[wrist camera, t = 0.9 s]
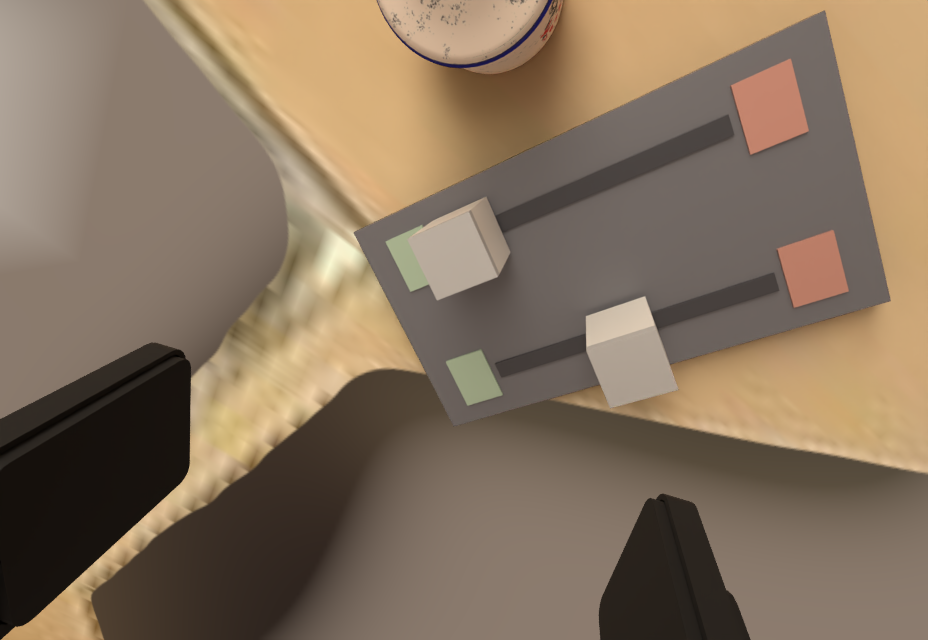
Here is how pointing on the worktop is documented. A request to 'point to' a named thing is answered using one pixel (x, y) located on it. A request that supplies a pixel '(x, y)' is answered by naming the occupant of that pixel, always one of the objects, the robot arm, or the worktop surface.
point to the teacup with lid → (473, 30)
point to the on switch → (460, 249)
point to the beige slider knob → (628, 353)
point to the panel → (652, 229)
